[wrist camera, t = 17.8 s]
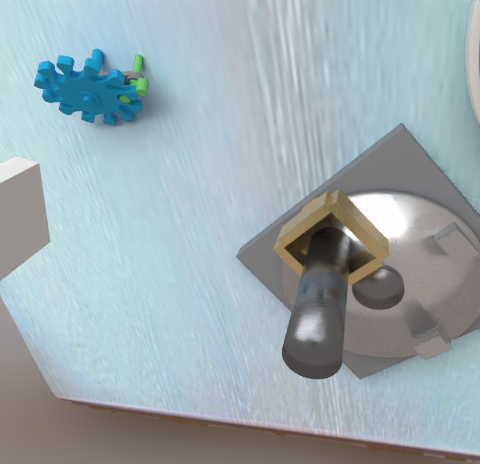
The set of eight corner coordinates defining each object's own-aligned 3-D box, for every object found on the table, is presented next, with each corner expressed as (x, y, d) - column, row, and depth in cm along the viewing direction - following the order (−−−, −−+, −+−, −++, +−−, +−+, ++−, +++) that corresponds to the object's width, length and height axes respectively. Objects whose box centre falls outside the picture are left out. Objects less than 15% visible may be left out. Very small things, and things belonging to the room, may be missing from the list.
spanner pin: (301, 243, 42) (269, 351, 28) (330, 219, 40) (311, 322, 26) (329, 269, 42) (311, 387, 29) (359, 246, 40) (355, 362, 27)
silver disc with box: (532, 296, 39) (548, 325, 36) (363, 373, 50) (362, 401, 46) (389, 137, 36) (391, 152, 32) (241, 255, 46) (229, 276, 43)
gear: (68, 130, 46) (7, 71, 36) (77, 84, 47) (22, 16, 38) (163, 128, 44) (126, 66, 34) (170, 81, 46) (136, 9, 36)
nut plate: (401, 122, 37) (402, 129, 35) (540, 286, 41) (548, 300, 39) (240, 247, 49) (235, 258, 47) (360, 367, 52) (359, 381, 50)
